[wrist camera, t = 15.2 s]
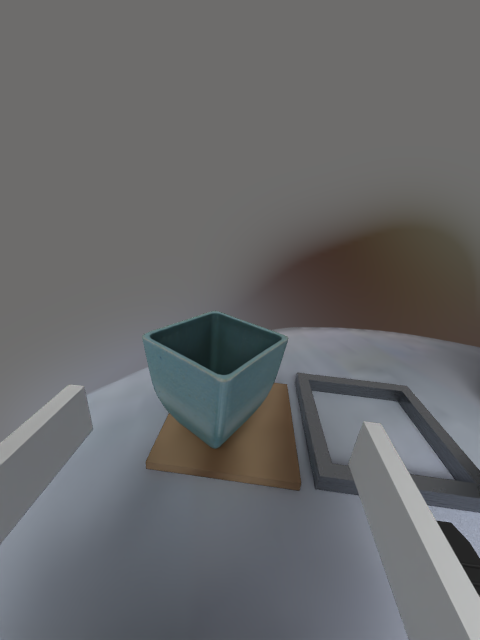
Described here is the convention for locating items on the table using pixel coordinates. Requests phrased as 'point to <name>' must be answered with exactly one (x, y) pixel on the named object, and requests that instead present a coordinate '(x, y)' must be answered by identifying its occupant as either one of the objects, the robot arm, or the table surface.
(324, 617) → the table surface
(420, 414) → the metal collar
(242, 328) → the flower pot
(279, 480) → the walnut board
